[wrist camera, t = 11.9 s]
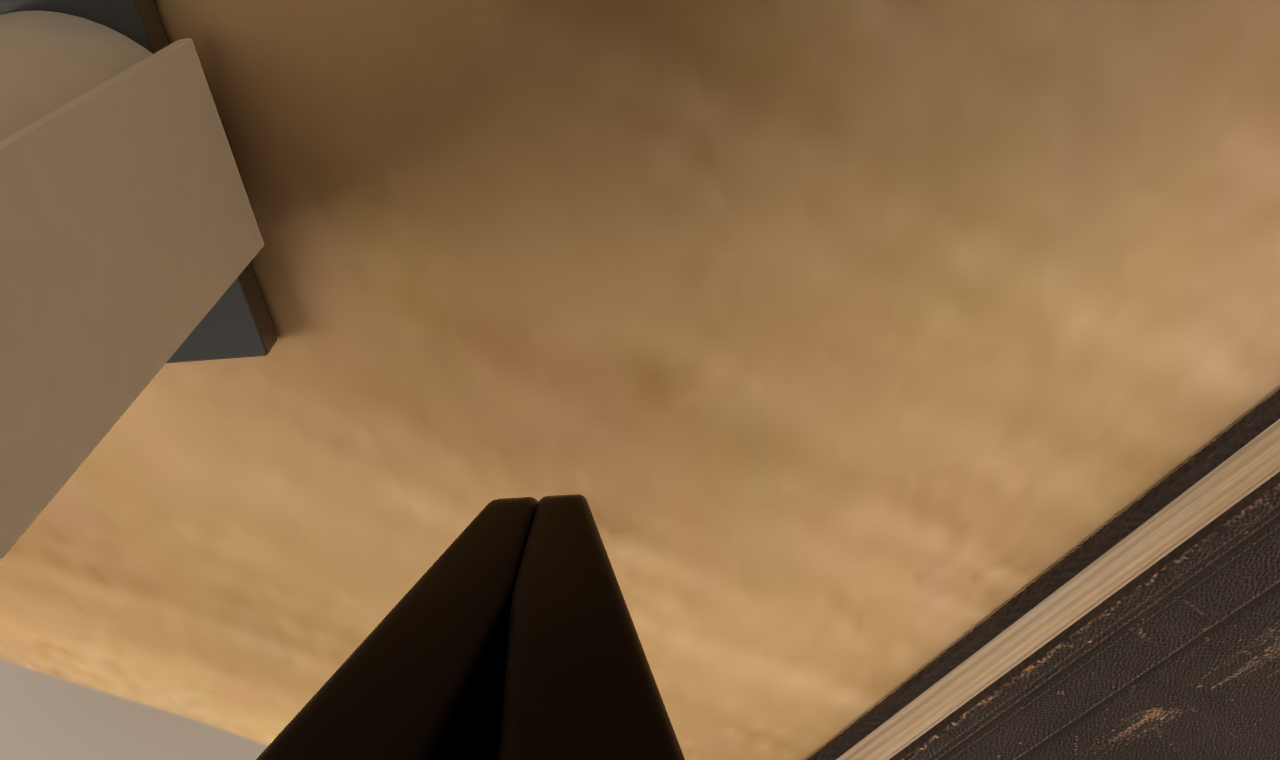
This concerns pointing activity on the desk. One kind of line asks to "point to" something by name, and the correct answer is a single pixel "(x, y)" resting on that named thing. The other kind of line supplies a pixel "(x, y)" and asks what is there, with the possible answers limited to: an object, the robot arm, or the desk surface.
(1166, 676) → the hardcover book
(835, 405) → the desk surface
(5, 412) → the cylinder
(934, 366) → the desk surface
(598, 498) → the desk surface
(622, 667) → the robot arm
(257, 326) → the slate coaster
